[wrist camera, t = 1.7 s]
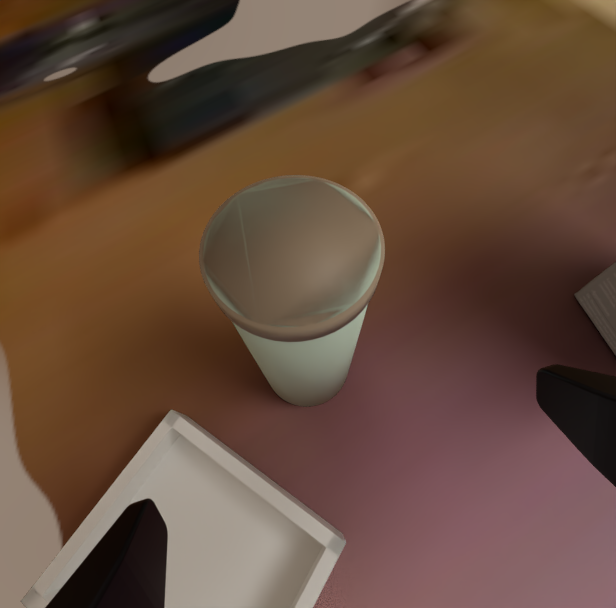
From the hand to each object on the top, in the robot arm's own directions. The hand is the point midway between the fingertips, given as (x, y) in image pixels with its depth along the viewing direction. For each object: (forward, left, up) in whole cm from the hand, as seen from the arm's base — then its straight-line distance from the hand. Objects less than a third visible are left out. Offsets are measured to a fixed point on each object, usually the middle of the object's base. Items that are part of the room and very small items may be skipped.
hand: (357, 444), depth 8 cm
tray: (-7, +3, -11) cm, 14 cm away
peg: (+3, +4, -11) cm, 13 cm away
